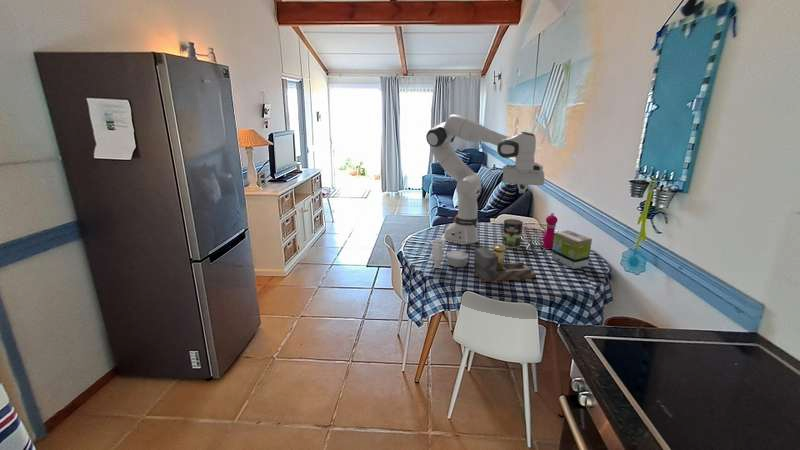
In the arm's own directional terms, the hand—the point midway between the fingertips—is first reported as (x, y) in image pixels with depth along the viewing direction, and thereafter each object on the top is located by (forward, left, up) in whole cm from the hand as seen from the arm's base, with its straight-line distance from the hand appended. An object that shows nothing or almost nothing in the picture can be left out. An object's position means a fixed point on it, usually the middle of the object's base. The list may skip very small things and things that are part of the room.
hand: (521, 192), depth 190 cm
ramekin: (-27, -23, -34) cm, 49 cm away
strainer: (-35, -31, -34) cm, 58 cm away
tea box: (+26, -1, -34) cm, 43 cm away
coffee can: (-4, +15, -34) cm, 38 cm away
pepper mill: (+16, +19, -34) cm, 42 cm away
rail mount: (-3, -28, -34) cm, 44 cm away
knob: (-6, -30, -32) cm, 44 cm away
